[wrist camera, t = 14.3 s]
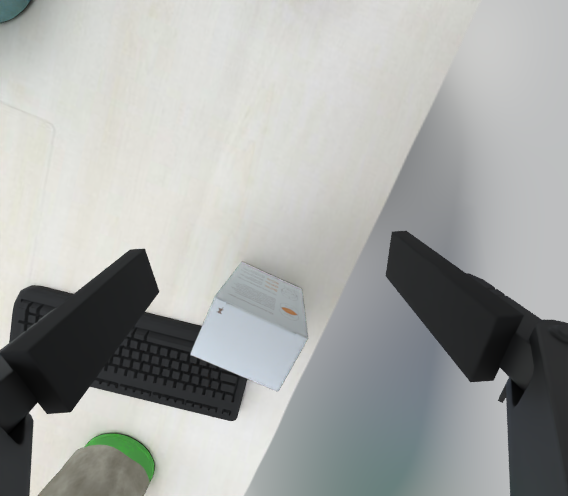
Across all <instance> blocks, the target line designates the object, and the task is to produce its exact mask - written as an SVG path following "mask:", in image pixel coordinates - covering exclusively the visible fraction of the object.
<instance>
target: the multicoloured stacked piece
mask: <svg viewBox="0 0 568 496" xmlns="http://www.w3.org/2000/svg"><path fill="white" fill-rule="evenodd" d="M153 474H154V462H153V459H152V457H151V455H150V453H149V452H148V450H147V449H146V448H145V447H144V446H143V445H142V444H140V443H139V442H138V441H136V440H134V439H132V438H130V437H128V436H125V435H121V434H103V435H99V436H97V437H95V438H93V439H92V440H90V441H89V442H88V443H87V445H86V446H85V447H84V448H81V449H78V450H77V451H76V452H75V453H74V454H73V455H72V456H71V457H70V459H69V460H68V461H67V462H66V464H65V465H64V466H63V468H62V469H61V470H60V471H59V472H58V473H57V474H56V476H55V477H54V478H53V479H52V480H51V481H50V482H49V483H48V484H47V485H46V486H45V488H44V489H43V490H42V491H41V492H40V493H39V495H38V496H144V494H145V492H146V490H147V488H148V486H149V484H150V481H151V479H152V477H153Z"/></svg>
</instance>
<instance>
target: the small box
mask: <svg viewBox="0 0 568 496" xmlns="http://www.w3.org/2000/svg"><path fill="white" fill-rule="evenodd" d="M307 340H308V332H307V324H306V317H305V308H304V300H303V293H302V289H301V288H299V287H297V286H295V285H292V284H290V283H288V282H286V281H284V280H281V279H279V278H277V277H275V276H273V275H270V274H268V273H266V272H264V271H262V270H259V269H257V268H255V267H253V266H250V265H248V264H246V263H244V262H241V263H240V264H239V266H238V267H237V268H236V270H235V271H234V272H233V274H232V275H231V276H230V277H229V279H228V280H227V281H226V282H225V284H224V285H223V286H222V287H221V289H220V290H219V291H218V293H217V294H216V295H215V297H214V299H213V302H212V304H211V306H210V309H209V311H208V313H207V316H206V318H205V321H204V323H203V325H202V328H201V330H200V332H199V335H198V337H197V339H196V341H195V344H194V346H193V348H192V351H191V355H192V356H194V357H197V358H199V359H202V360H204V361H206V362H209V363H211V364H213V365H216V366H218V367H221V368H223V369H225V370H228V371H230V372H233V373H235V374H237V375H239V376H242V377H244V378H247V379H249V380H251V381H254V382H256V383H258V384H261V385H263V386H266V387H268V388H270V389H272V390H275V391H279V389H280V388H281V386H282V384H283V382H284V381H285V379H286V377H287V375H288V374H289V372H290V370H291V368H292V366H293V365H294V363H295V361H296V359H297V358H298V356H299V354H300V352H301V350H302V349H303V347H304V345H305V343H306V341H307Z"/></svg>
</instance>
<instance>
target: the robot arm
mask: <svg viewBox="0 0 568 496" xmlns="http://www.w3.org/2000/svg"><path fill="white" fill-rule="evenodd" d="M386 277H387V278H388V279H389V281H390V282H391V283H392V284H393V286H394V287H395V288H396V289H397V291H398V292H399V293H400V295H401V296H402V297H403V298H404V299H405V301H406V302H407V303H408V304H409V306H410V307H411V308H412V310H413V311H414V312H415V313H416V314H417V316H418V317H419V318H420V319H421V321H422V322H423V323H424V324H425V326H426V327H427V328H428V329H429V331H430V332H431V333H432V335H433V336H434V337H435V338H436V340H437V341H438V342H439V343H440V344H441V346H442V347H443V348H444V350H445V351H446V352H447V353H448V355H449V356H450V357H451V358H452V359H453V361H454V362H455V363H456V365H457V366H458V367H459V368H460V369H461V371H462V372H463V373H464V374H465V376H466V377H467V378H468V379H469V381H470V382H480V381H493V380H494V378H495V376H496V374H497V372H498V370H499V368H501V369H502V370H503V371H504V372H505V373H506V374H507V375H508V376H509V379H508V381H507V383H506V385H505V387H504V389H503V391H502V393H501V395H500V397H499V400H498V401H500V402H502V403H503V401H504V399H505V398H506V400H507V422H508V423H507V425H508V450H509V472H510V496H568V323H565V322H561V321H556V320H541V319H540V318H538V317H537V316H536V315H534V314H533V313H531V312H530V311H528V310H527V309H525V308H524V307H522V306H521V305H520V304H518V303H517V302H515V301H514V300H512V299H511V298H509V297H508V296H505V295H504V294H503V293H502V292H501V291H499V290H498V289H495V288H494V287H493V286H492V285H490V284H489V283H487V282H486V281H484V280H483V279H480V278H478V277H476V276H473V275H471V274H466V273H464V272H463V271H461V270H460V269H459V268H458V267H456V266H455V265H453V264H452V263H450V262H449V261H448V260H446V259H445V258H443V257H442V256H441V255H439V254H438V253H437V252H435V251H434V250H432V249H431V248H429V247H428V246H427V245H425V244H424V243H422V242H421V241H420V240H418V239H417V238H416V237H414V236H413V235H411V234H410V233H409V232H407V231H397V232H392V235H391V243H390V249H389V256H388V264H387V271H386ZM158 293H159V289H158V287H157V284H156V281H155V278H154V275H153V272H152V269H151V266H150V263H149V260H148V257H147V254H146V251H145V249H133V250H129V251H128V252H127V253H125V254H124V255H123V256H121V257H120V258H119V259H118V260H116V261H115V262H114V263H113V264H111V265H110V266H109V267H108V268H106V269H105V270H104V271H102V272H101V273H100V274H99V275H97V276H96V277H95V278H94V279H92V280H91V281H90V282H89V283H87V284H86V285H85V286H83V287H82V288H81V289H80V290H78V291H77V292H76V293H75V294H73V295H72V296H71V297H70V298H68V299H67V300H66V301H64V302H63V303H62V304H61V305H59V306H58V307H57V308H55V309H53V310H52V311H50V312H49V313H47V314H46V315H45V316H43V317H42V318H41V319H40V320H38V323H34V324H33V325H32V326H31V327H29V328H28V329H27V331H24V332H23V333H22V334H20V335H19V336H18V337H17V338H15V339H14V340H13V341H11V342H10V343H9V344H8V345H6V346H5V347H4V348H3V349H1V350H0V496H29V492H30V474H31V455H32V437H33V419H32V416H31V415H30V414H29V412H30V410H31V409H32V408H33V407H34V406H35V405H36V404H37V403H39V404H40V406H41V407H42V408H43V410H44V411H45V412H46V413H47V414H53V413H67V412H71V411H72V410H73V408H74V407H75V406H76V404H77V403H78V402H79V400H80V399H81V398H82V396H83V395H84V394H85V392H86V391H87V389H88V388H89V387H90V385H91V384H92V383H93V381H94V380H95V379H96V377H97V376H98V374H99V373H100V372H101V370H102V369H103V368H104V366H105V365H106V364H107V362H108V361H109V360H110V358H111V357H112V355H113V354H114V353H115V351H116V350H117V349H118V347H119V346H120V345H121V343H122V342H123V341H124V339H125V338H126V336H127V335H128V334H129V332H130V331H131V330H132V328H133V327H134V326H135V324H136V323H137V322H138V320H139V319H140V317H141V316H142V315H143V313H144V312H145V311H146V309H147V308H148V307H149V305H150V304H151V302H152V301H153V300H154V298H155V297H156V296H157V294H158Z"/></svg>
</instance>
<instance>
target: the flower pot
mask: <svg viewBox="0 0 568 496" xmlns="http://www.w3.org/2000/svg"><path fill="white" fill-rule="evenodd" d="M29 2H30V0H0V22H5V21H7V20H10V19H12V18H14V17H15V16H17V15H18V14H19V13H21V12H22V11H23V10H24V9H25V7H26V6H27V5H28V3H29Z"/></svg>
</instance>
